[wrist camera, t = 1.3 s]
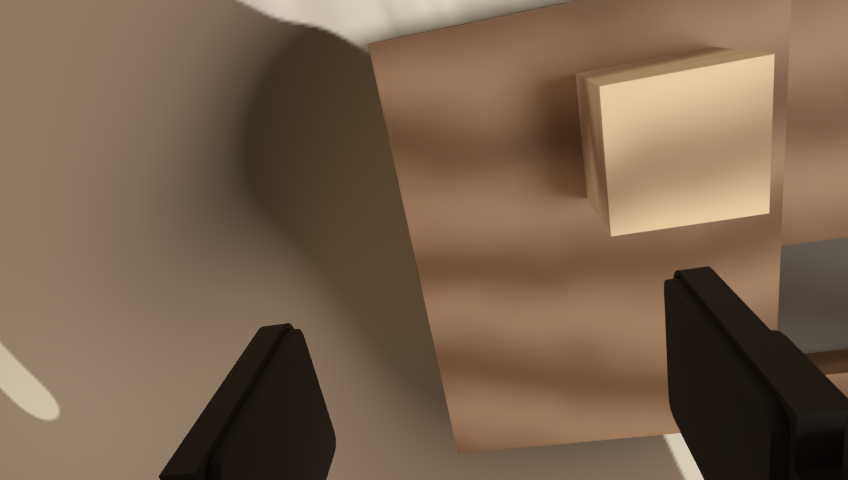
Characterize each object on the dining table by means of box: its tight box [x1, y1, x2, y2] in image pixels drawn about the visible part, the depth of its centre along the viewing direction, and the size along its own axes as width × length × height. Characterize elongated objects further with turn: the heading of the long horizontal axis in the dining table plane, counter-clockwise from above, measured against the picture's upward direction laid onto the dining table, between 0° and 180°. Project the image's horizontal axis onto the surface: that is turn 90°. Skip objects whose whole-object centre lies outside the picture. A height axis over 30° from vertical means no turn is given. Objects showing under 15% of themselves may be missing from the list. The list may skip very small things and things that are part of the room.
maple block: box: [576, 47, 775, 236], centre depth 23 cm, size 6×6×5 cm
